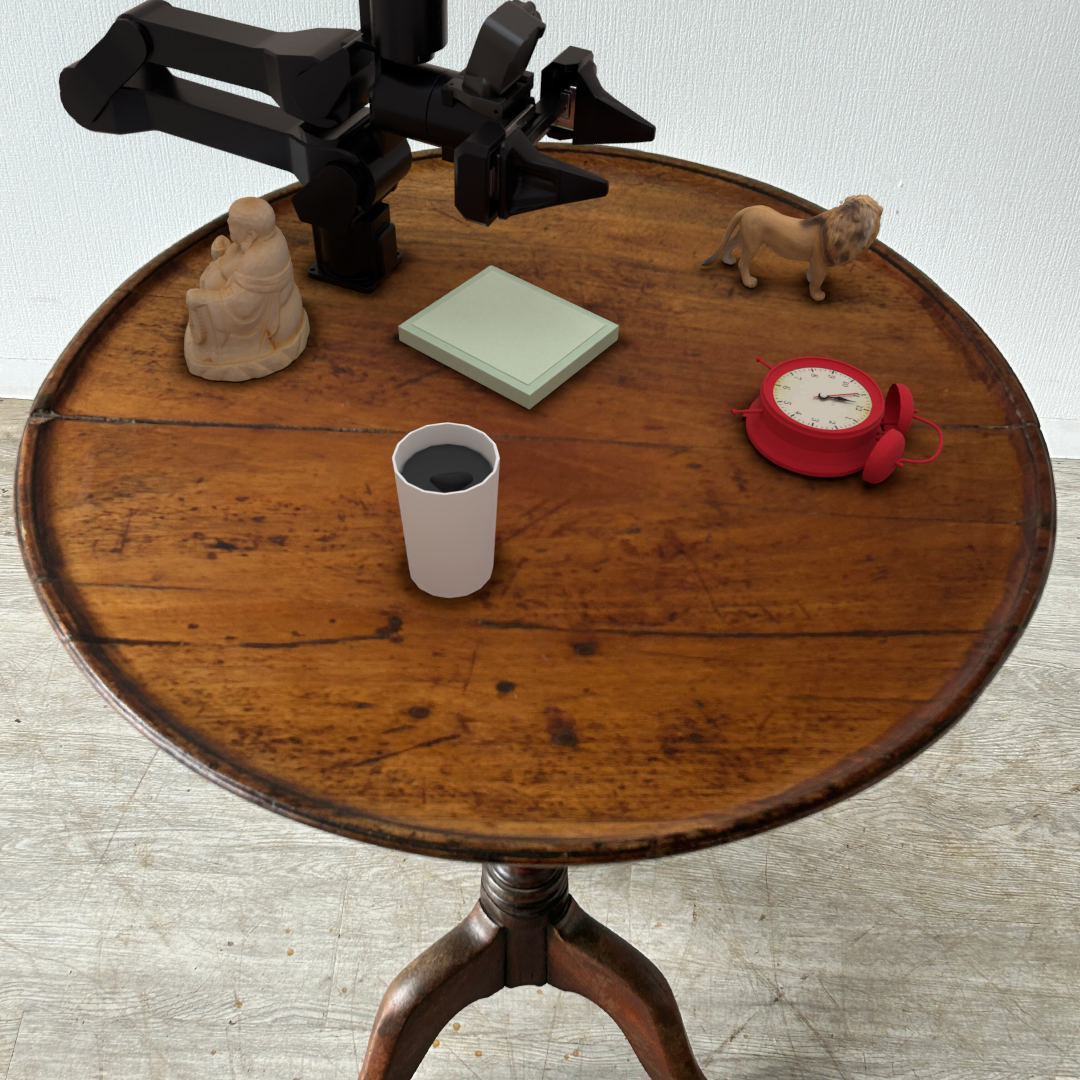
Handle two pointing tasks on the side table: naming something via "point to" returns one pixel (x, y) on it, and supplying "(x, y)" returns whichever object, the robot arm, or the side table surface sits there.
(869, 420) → the alarm clock
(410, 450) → the white cup
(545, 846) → the side table surface
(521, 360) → the board
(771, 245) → the lion figurine
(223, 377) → the statue
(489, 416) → the side table surface
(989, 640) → the side table surface
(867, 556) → the side table surface
